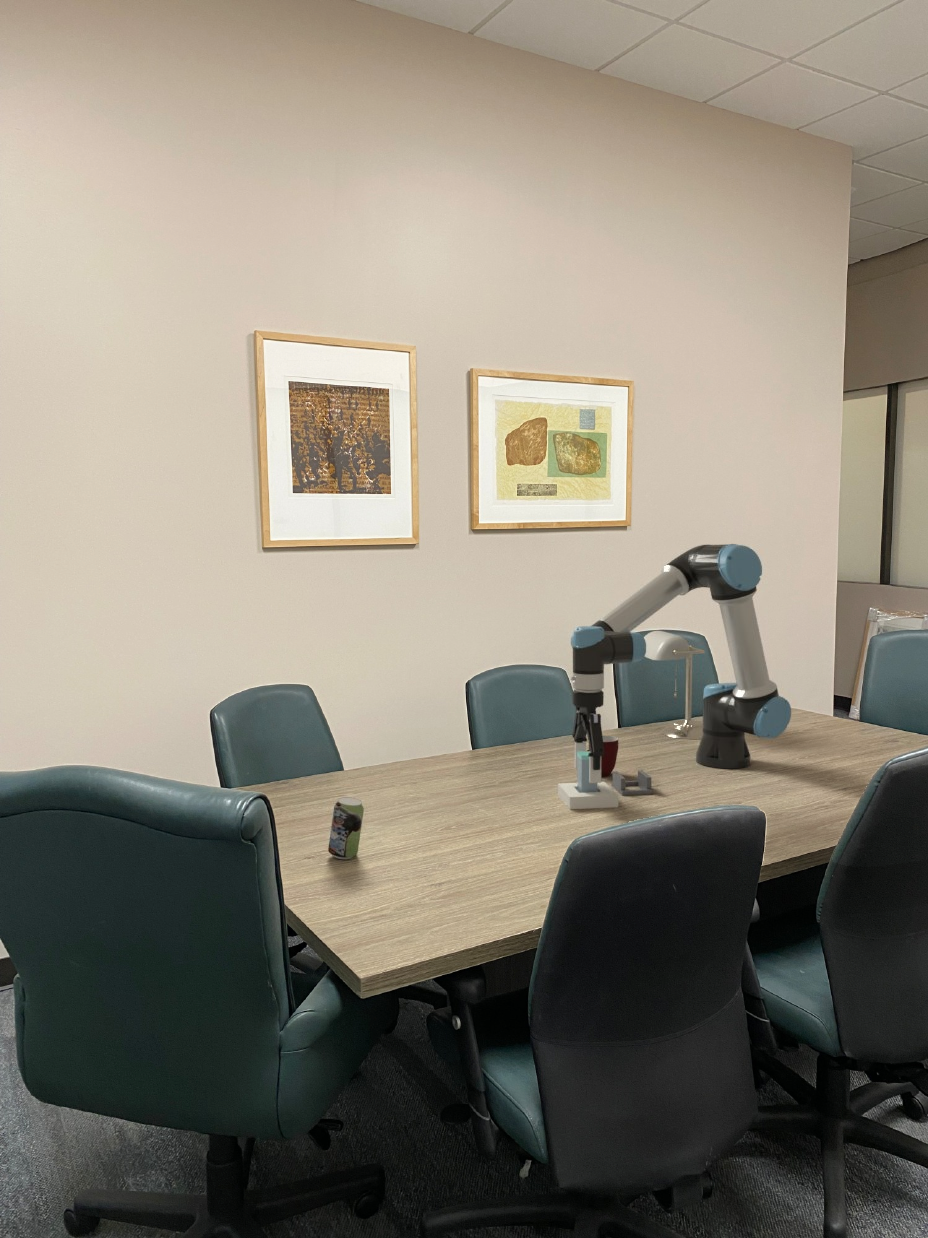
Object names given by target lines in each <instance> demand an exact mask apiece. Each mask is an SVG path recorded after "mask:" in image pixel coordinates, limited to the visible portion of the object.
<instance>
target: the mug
mask: <svg viewBox="0 0 928 1238" xmlns="http://www.w3.org/2000/svg"><path fill="white" fill-rule="evenodd" d="M602 737H603V745H604V752H605V754H604V755H602V756H601V777H607V776H608V777H609V776H611V775H612V774H613V772H614V769H615V768H616V764H617V757H618V753H619V738H618V737H617V736H612V735H602ZM586 751H590V747H589V746H588V749H586Z"/></svg>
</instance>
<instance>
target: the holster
mask: <svg viewBox="0 0 928 1238" xmlns="http://www.w3.org/2000/svg"><path fill="white" fill-rule="evenodd" d="M610 784H611V785H610V786H611V787H613V788H614V789H615V790H616V791H617V792H618V793H619V794H620V795H621V796H637V795H640V796H641V795H653V794H654V792H653V791H654V790H653V789H652V776H650V775H649V774H648V773H646V772H645V771H644V770H643V769H642V770H637V780H626V778H625V777H624V775H622V773H620V772H618V771H614V770H613V771H612V781H611V783H610ZM631 786H634V787H635V786H638V788H639V789H626V787H631Z"/></svg>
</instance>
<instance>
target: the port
mask: <svg viewBox="0 0 928 1238" xmlns="http://www.w3.org/2000/svg"><path fill="white" fill-rule="evenodd" d="M557 796H558V797H559V799H560V800H561V801H562V802H563V803H564V804H565V805H566V807H567V808H568V809H569V810H583V809H584V810H588V809H605V808H606V809H607V808H609V809H610V808H619V794H618V793H617V792H616V791H615V790H614V789H612V788H611V787H610V785H608V784H607V783H606V782H605V781H601V783H597V792H587V793H579V792H578V791H577V782H568V783H567V782H566V783H563V782H562V783H557Z"/></svg>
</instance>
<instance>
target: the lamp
mask: <svg viewBox="0 0 928 1238" xmlns="http://www.w3.org/2000/svg"><path fill="white" fill-rule="evenodd" d="M643 637H644V639H645V641H646V654H645V656H644V658H646V659H650V660H651V661H671V660H672V661H673V660H674V661H675V674H677V673H678V672H677V669H678V668H677V666H678V665H677V662H678V660H685V714H684V715H685V717H684V719H678V720H674V721H673V722H672V723H671V724H669V725H667V726H665V727H664V728H662V729H661V731H660V734H661V735H663V736H666V737H668V738H672V739H673V738H674V739H675V738H676V739H681V740H701V738H702V735H703V721H699V720H695V719H692V701H693V700H692V697H693V696H692V695H693V694H692V692H693V690H692V689H693V688H692V687H693V655H696V654H697V655H703V654H705V652H706V651H705V650H703V649H700V648H697V647H693V645H692V644H688V641H687V640H686V639H685V638H684V637H682V636H681V635H677V634H674V633H671V632H666V631H664V630H654V631H650V632H648V633H647V634H646V635H644V636H643ZM674 685H675V686H674V687H675V688H674V689H675V690H677V680H675V684H674ZM673 697H674V698H677V697H678V693H674V694H673Z"/></svg>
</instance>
